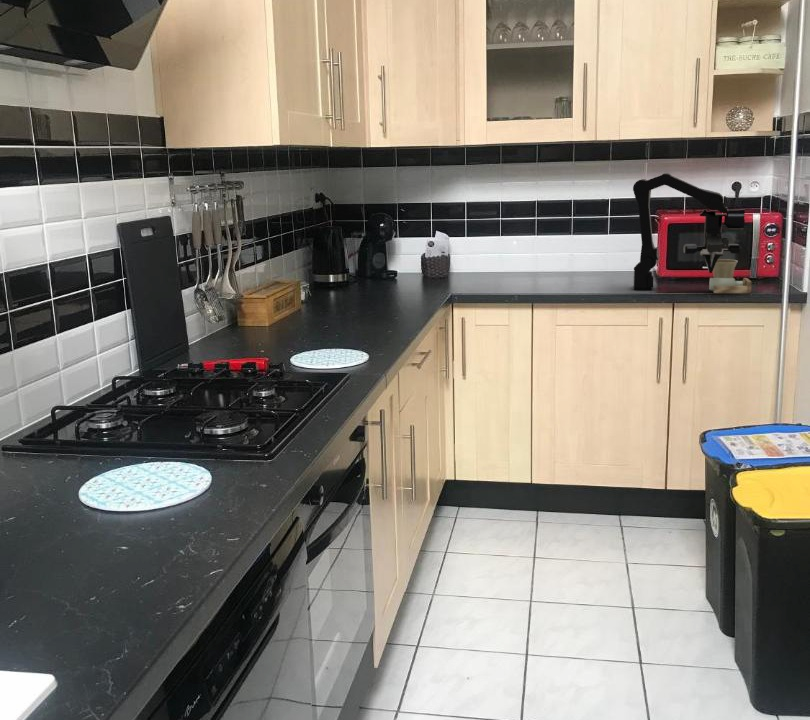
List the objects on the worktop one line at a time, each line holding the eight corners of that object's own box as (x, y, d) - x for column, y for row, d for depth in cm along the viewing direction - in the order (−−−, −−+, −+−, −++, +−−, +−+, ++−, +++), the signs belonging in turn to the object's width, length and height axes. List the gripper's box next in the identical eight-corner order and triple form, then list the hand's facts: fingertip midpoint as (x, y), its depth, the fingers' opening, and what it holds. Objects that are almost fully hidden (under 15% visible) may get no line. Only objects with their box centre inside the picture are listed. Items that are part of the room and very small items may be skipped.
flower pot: (732, 281, 318) (733, 258, 316) (739, 285, 309) (741, 262, 306) (706, 281, 319) (708, 259, 316) (713, 285, 310) (714, 262, 307)
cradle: (714, 293, 296) (714, 281, 295) (710, 288, 304) (711, 277, 303) (750, 293, 293) (751, 281, 292) (746, 288, 301) (746, 277, 300)
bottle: (711, 279, 297) (745, 279, 294) (709, 276, 301) (743, 277, 298) (710, 291, 298) (744, 291, 295) (708, 289, 302) (742, 289, 299)
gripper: (688, 231, 289) (685, 276, 292) (745, 231, 285) (742, 276, 289) (684, 228, 299) (682, 271, 303) (739, 227, 295) (736, 271, 299)
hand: (710, 272), depth 298 cm, fingers closed
